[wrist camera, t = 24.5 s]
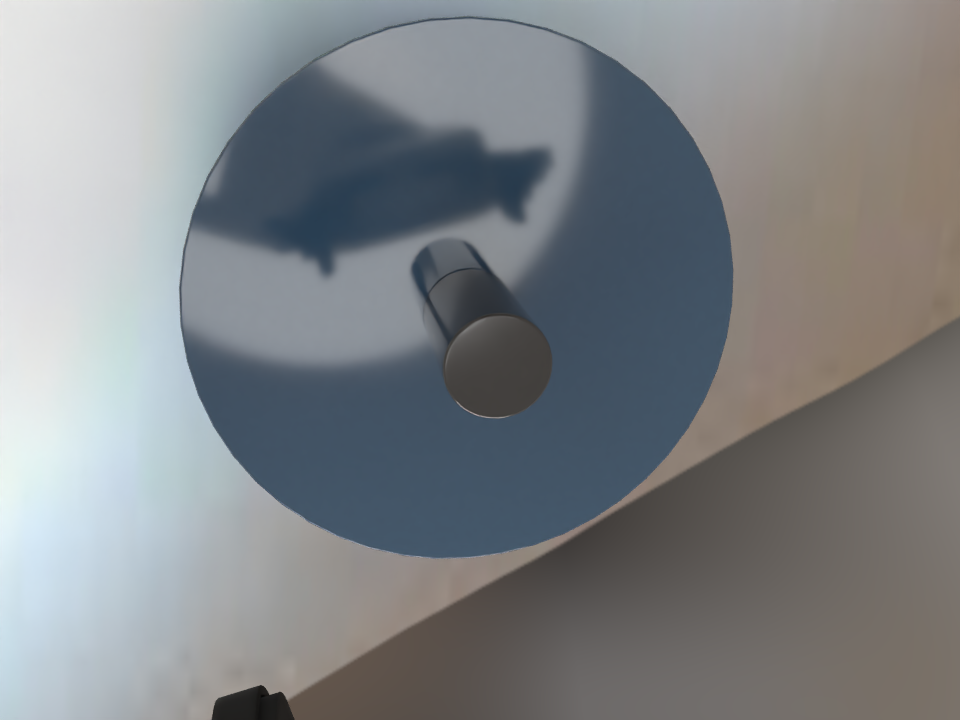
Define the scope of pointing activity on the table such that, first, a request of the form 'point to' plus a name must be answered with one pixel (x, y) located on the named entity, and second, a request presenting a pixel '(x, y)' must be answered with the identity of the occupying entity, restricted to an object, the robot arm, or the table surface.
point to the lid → (456, 287)
